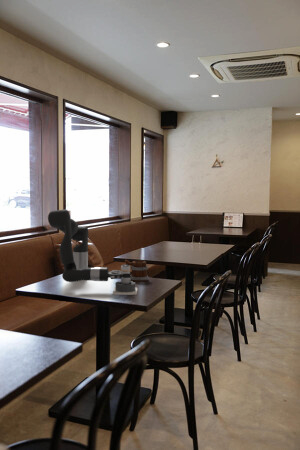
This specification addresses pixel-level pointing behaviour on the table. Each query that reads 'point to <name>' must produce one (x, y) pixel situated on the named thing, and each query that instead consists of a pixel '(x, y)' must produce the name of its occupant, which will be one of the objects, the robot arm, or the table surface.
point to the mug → (138, 271)
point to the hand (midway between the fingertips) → (130, 274)
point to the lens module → (125, 270)
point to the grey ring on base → (125, 288)
